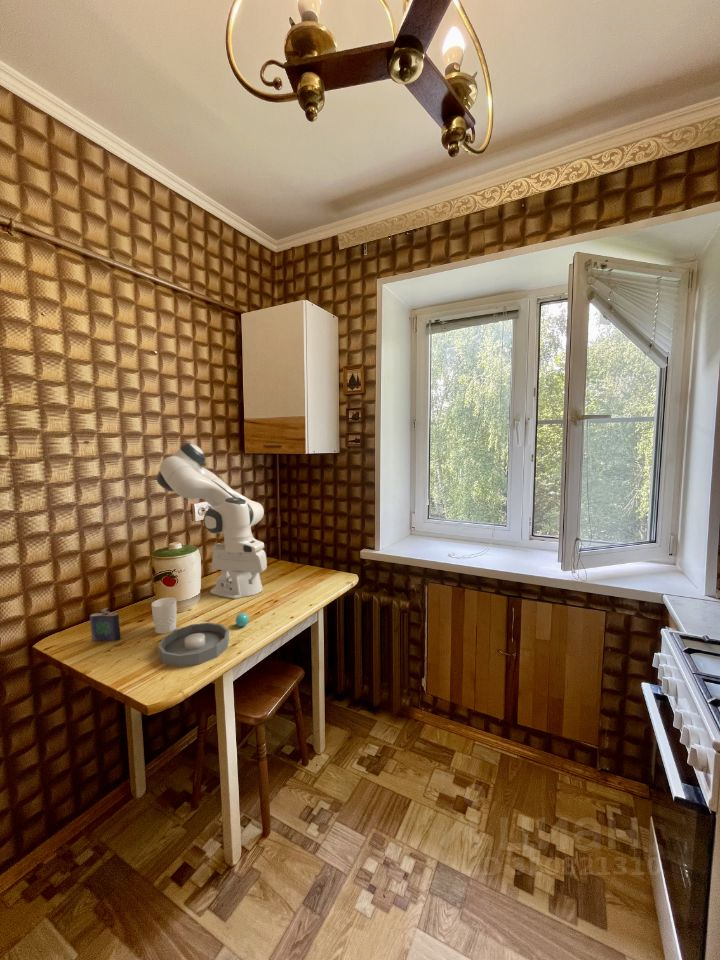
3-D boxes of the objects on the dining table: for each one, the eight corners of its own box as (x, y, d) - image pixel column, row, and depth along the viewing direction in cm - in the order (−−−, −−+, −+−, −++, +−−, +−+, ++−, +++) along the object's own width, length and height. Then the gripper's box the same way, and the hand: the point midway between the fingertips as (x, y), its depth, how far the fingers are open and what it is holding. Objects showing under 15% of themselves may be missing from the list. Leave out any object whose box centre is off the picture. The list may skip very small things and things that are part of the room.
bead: (233, 628, 135) (232, 615, 135) (240, 622, 139) (239, 610, 139) (244, 629, 134) (243, 617, 133) (251, 623, 138) (250, 611, 138)
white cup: (161, 623, 139) (159, 597, 138) (182, 624, 139) (180, 597, 138) (148, 634, 131) (146, 606, 130) (170, 635, 131) (168, 606, 130)
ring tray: (144, 661, 115) (143, 650, 115) (191, 629, 134) (190, 620, 134) (200, 671, 110) (200, 659, 109) (240, 636, 129) (240, 626, 128)
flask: (90, 642, 127) (87, 610, 126) (96, 637, 130) (93, 607, 129) (117, 641, 127) (115, 610, 126) (123, 637, 130) (121, 606, 129)
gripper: (206, 545, 133) (209, 583, 135) (258, 548, 128) (260, 588, 129) (218, 540, 139) (220, 577, 141) (268, 543, 134) (270, 581, 135)
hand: (240, 582), depth 135 cm, fingers open, 8 cm apart
